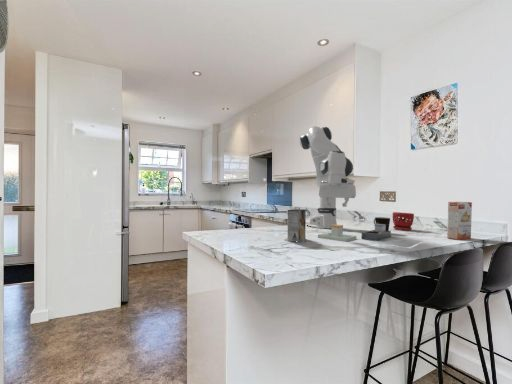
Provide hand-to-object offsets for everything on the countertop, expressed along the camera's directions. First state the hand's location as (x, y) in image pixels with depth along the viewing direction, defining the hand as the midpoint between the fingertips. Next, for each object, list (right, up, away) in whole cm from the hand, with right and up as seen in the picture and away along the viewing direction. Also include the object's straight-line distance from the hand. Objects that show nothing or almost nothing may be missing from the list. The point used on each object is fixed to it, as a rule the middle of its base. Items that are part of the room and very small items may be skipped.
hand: (336, 206), depth 147 cm
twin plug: (+26, -18, +6) cm, 32 cm away
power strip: (+23, -18, +3) cm, 29 cm away
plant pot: (+60, -19, +44) cm, 76 cm away
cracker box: (+73, -19, +8) cm, 75 cm away
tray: (0, -18, 0) cm, 18 cm away
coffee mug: (+36, -19, +24) cm, 47 cm away
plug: (0, -17, 0) cm, 17 cm away
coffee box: (-22, -18, -6) cm, 29 cm away
